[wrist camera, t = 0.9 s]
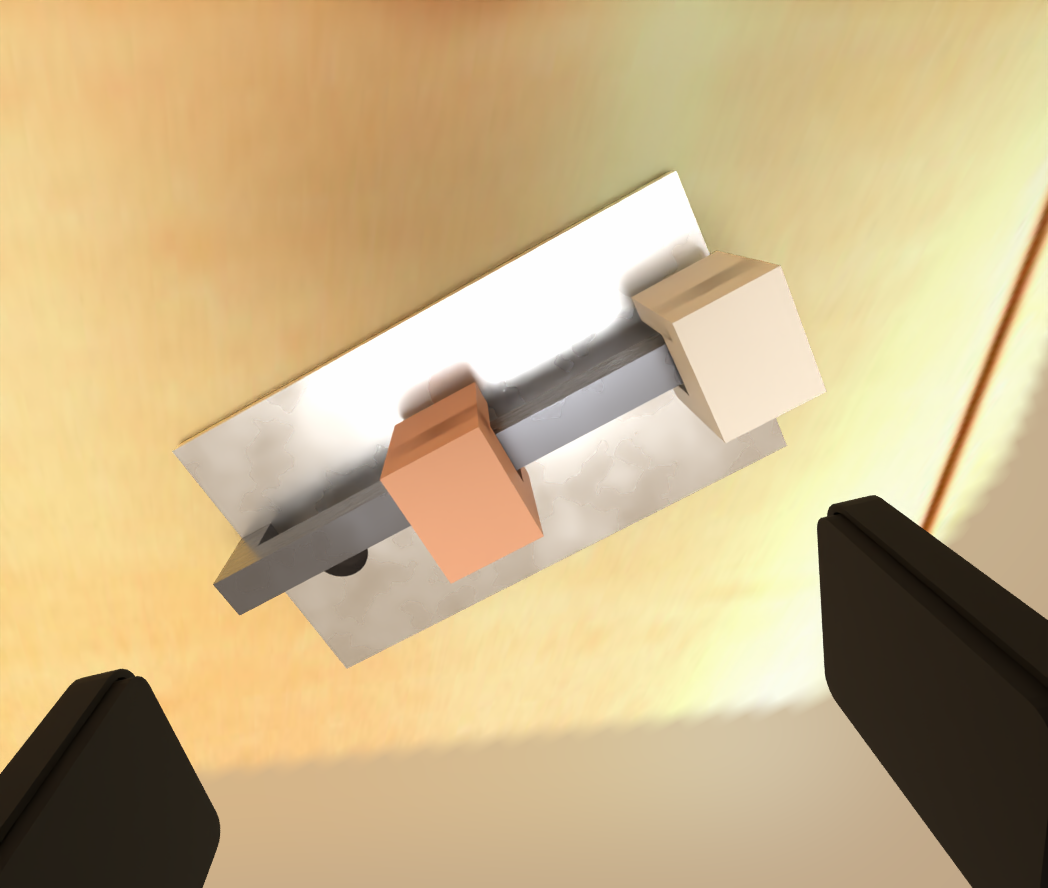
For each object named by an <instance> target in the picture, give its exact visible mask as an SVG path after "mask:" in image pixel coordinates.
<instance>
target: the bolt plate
mask: <svg viewBox="0 0 1048 888" xmlns="http://www.w3.org/2000/svg"><path fill="white" fill-rule="evenodd" d="M708 255H710V254H709V251H708V249H707V246H706V244H705V241H704V239H703V236H702V234H701V231H700V229H699V226H698V224H697V221H696V219H695V216H694V214H693V211H692V209H691V206H690V204H689V201H688V199H687V196H686V194H685V191H684V189H683V187H682V184H681V182H680V179H679V177H678V174H677V172H676V171H669V172H667V173H665V174H664V175H662V176H660V177H658V178H656V179H655V180H653V181H651V182H649V183H647V184H646V185H644V186H642V187H640V188H638V189H637V190H635V191H633V192H631V193H629V194H628V195H626V196H624V197H622V198H620V199H619V200H617V201H615V202H613V203H611V204H610V205H608V206H606V207H604V208H602V209H601V210H599V211H597V212H595V213H594V214H592V215H590V216H588V217H586V218H585V219H583V220H581V221H579V222H577V223H576V224H574V225H572V226H570V227H568V228H567V229H565V230H563V231H561V232H559V233H558V234H556V235H554V236H552V237H550V238H549V239H547V240H545V241H543V242H541V243H540V244H538V245H536V246H534V247H532V248H531V249H529V250H527V251H525V252H523V253H522V254H520V255H518V256H516V257H515V258H513V259H511V260H509V261H507V262H506V263H504V264H502V265H500V266H498V267H497V268H495V269H493V270H491V271H489V272H488V273H486V274H484V275H482V276H480V277H479V278H477V279H475V280H473V281H471V282H470V283H468V284H466V285H464V286H462V287H461V288H459V289H457V290H455V291H453V292H452V293H450V294H448V295H446V296H445V297H443V298H441V299H439V300H437V301H436V302H434V303H432V304H430V305H428V306H427V307H425V308H423V309H421V310H419V311H418V312H416V313H414V314H412V315H410V316H409V317H407V318H405V319H403V320H401V321H400V322H398V323H396V324H394V325H392V326H391V327H389V328H387V329H385V330H383V331H382V332H380V333H378V334H376V335H374V336H373V337H371V338H369V339H367V340H366V341H364V342H362V343H360V344H358V345H357V346H355V347H353V348H351V349H349V350H348V351H346V352H344V353H342V354H340V355H339V356H337V357H335V358H333V359H331V360H330V361H328V362H326V363H324V364H322V365H321V366H319V367H317V368H315V369H313V370H312V371H310V372H308V373H306V374H304V375H303V376H301V377H299V378H297V379H295V380H294V381H292V382H290V383H288V384H287V385H285V386H283V387H281V388H279V389H278V390H276V391H274V392H272V393H270V394H269V395H267V396H265V397H263V398H261V399H260V400H258V401H256V402H254V403H252V404H251V405H249V406H247V407H245V408H243V409H242V410H240V411H238V412H236V413H234V414H233V415H231V416H229V417H227V418H225V419H224V420H222V421H220V422H218V423H216V424H215V425H213V426H211V427H209V428H208V429H206V430H204V431H202V432H200V433H199V434H197V435H195V436H193V437H191V438H190V439H188V440H186V441H184V442H182V443H181V444H180V445H178V446H177V447H176V448H175V449H174V450H173V451H172V452H173V453H174V454H175V455H176V457H177V458H178V459H179V460H180V462H181V463H182V464H183V465H184V467H185V468H186V469H187V470H188V472H189V473H190V474H191V475H192V477H193V478H194V479H195V480H196V482H197V483H198V484H199V485H200V487H201V488H202V489H203V490H204V491H205V493H206V494H207V495H208V496H209V498H210V499H211V500H212V501H213V503H214V504H215V505H216V506H217V508H218V509H219V510H220V511H221V513H222V514H223V515H224V516H225V518H226V519H227V520H228V521H229V523H230V524H231V525H232V526H233V528H234V529H235V530H236V531H237V533H238V534H239V535H240V536H241V538H243V537H245V536H247V535H249V534H251V533H253V532H255V531H256V530H258V529H260V528H262V527H264V526H266V525H268V524H270V523H271V524H272V525H273V527H274V528H275V529H276V530H277V532H278V533H279V534H281V533H283V532H285V531H287V530H288V529H290V528H292V527H294V526H296V525H298V524H300V523H302V522H303V521H305V520H307V519H309V518H311V517H313V516H315V515H317V514H318V513H320V512H322V511H324V510H326V509H328V508H330V507H332V506H333V505H335V504H337V503H339V502H341V501H343V500H345V499H346V498H348V497H350V496H352V495H354V494H356V493H358V492H360V491H361V490H363V489H365V488H367V487H369V486H371V485H373V484H375V483H376V482H378V481H380V477H381V473H382V470H383V466H384V462H385V459H386V455H387V452H388V448H389V444H390V441H391V437H392V433H393V430H394V426H395V425H396V424H398V423H400V422H402V421H403V420H405V419H407V418H409V417H411V416H413V415H414V414H416V413H418V412H420V411H422V410H424V409H426V408H427V407H429V406H431V405H433V404H435V403H437V402H438V401H440V400H442V399H444V398H446V397H448V396H450V395H451V394H453V393H455V392H457V391H459V390H461V389H463V388H464V387H466V386H468V385H470V384H472V383H474V382H475V383H476V384H477V386H478V388H479V389H480V391H481V393H482V395H483V396H484V398H485V400H486V402H487V404H488V412H489V419H490V422H491V421H493V420H495V419H496V418H498V417H500V416H502V415H504V414H506V413H508V412H510V411H511V410H513V409H515V408H517V407H519V406H521V405H523V404H525V403H526V402H528V401H530V400H532V399H534V398H536V397H538V396H540V395H541V394H543V393H545V392H547V391H549V390H551V389H553V388H555V387H556V386H558V385H560V384H562V383H564V382H566V381H568V380H570V379H571V378H573V377H575V376H577V375H579V374H581V373H583V372H585V371H586V370H588V369H590V368H592V367H594V366H596V365H598V364H600V363H601V362H603V361H605V360H607V359H609V358H611V357H613V356H615V355H616V354H618V353H620V352H622V351H624V350H626V349H628V348H630V347H631V346H633V345H635V344H637V343H639V342H641V341H643V340H645V339H646V338H648V337H650V336H652V335H654V334H656V333H658V332H657V331H656V330H654V329H653V328H652V327H650V326H649V325H647V324H646V323H645V322H643V321H642V320H641V318H640V316H639V314H638V312H637V309H636V307H635V305H634V303H633V301H632V298H631V297H633V296H634V295H636V294H638V293H640V292H642V291H644V290H645V289H647V288H649V287H651V286H653V285H655V284H657V283H658V282H660V281H662V280H664V279H666V278H668V277H670V276H671V275H673V274H675V273H677V272H679V271H681V270H682V269H684V268H686V267H688V266H690V265H692V264H694V263H695V262H697V261H699V260H701V259H703V258H705V257H706V256H708ZM785 446H787V445H786V442H785V440H784V437H783V435H782V432H781V430H780V427H779V425H778V422H777V420H776V418H774V419H772V420H770V421H768V422H766V423H764V424H763V425H761V426H759V427H757V428H755V429H753V430H751V431H749V432H747V433H745V434H743V435H741V436H739V437H737V438H735V439H733V440H731V441H729V442H727V443H725V442H724V441H722V440H721V439H720V438H719V437H718V436H717V435H716V434H715V433H714V432H713V431H712V430H711V429H710V428H709V427H708V426H707V425H706V424H705V423H704V422H703V421H701V420H700V419H699V418H698V417H697V416H696V415H695V414H694V413H693V412H692V411H691V410H690V409H689V408H688V407H687V406H686V405H685V404H684V403H683V402H682V401H681V400H679V399H678V398H677V396H676V394H675V392H674V390H673V389H671V390H669V391H667V392H665V393H663V394H662V395H660V396H658V397H656V398H654V399H652V400H650V401H648V402H646V403H644V404H642V405H641V406H639V407H637V408H635V409H633V410H631V411H629V412H627V413H625V414H623V415H621V416H620V417H618V418H616V419H614V420H612V421H610V422H608V423H606V424H604V425H602V426H600V427H599V428H597V429H595V430H593V431H591V432H589V433H587V434H585V435H583V436H581V437H579V438H578V439H576V440H574V441H572V442H570V443H568V444H566V445H564V446H562V447H560V448H558V449H557V450H555V451H553V452H551V453H549V454H547V455H545V456H543V457H541V458H539V459H537V460H536V461H534V462H532V463H530V464H528V465H526V466H524V467H525V469H526V470H527V472H528V474H529V478H530V482H531V486H532V490H533V494H534V498H535V502H536V506H537V510H538V515H539V519H540V523H541V527H542V531H543V535H544V537H542V538H540V539H538V540H536V541H534V542H532V543H530V544H528V545H526V546H524V547H522V548H520V549H518V550H516V551H514V552H512V553H510V554H508V555H506V556H504V557H502V558H501V559H499V560H497V561H495V562H493V563H491V564H489V565H487V566H485V567H483V568H481V569H479V570H477V571H475V572H473V573H471V574H469V575H467V576H465V577H463V578H461V579H459V580H458V581H456V582H454V583H452V584H451V583H450V582H449V580H448V579H447V578H446V576H445V575H444V573H443V572H442V570H441V569H440V567H439V566H438V564H437V563H436V561H435V560H434V558H433V557H432V555H431V554H430V553H429V551H428V550H427V548H426V547H425V545H424V544H423V542H422V541H421V539H420V538H419V536H418V535H417V533H416V532H415V531H414V529H413V528H412V526H410V527H408V528H406V529H404V530H402V531H400V532H398V533H396V534H394V535H392V536H390V537H389V538H387V539H385V540H383V541H381V542H379V543H377V544H375V545H373V546H371V547H369V548H368V549H366V550H364V551H362V552H360V553H358V554H356V555H354V556H352V557H350V558H348V559H347V560H345V561H343V562H341V563H339V564H337V565H335V566H333V567H331V568H329V569H327V570H326V571H324V572H322V573H320V574H318V575H316V576H314V577H312V578H310V579H308V580H306V581H305V582H303V583H301V584H299V585H297V586H295V587H293V588H291V589H289V590H287V591H285V592H286V594H287V595H288V596H289V597H290V599H291V600H292V601H293V602H294V604H295V605H296V606H297V607H298V608H299V610H300V611H301V612H302V613H303V615H304V616H305V617H306V618H307V620H308V621H309V622H310V623H311V625H312V626H313V627H314V628H315V630H316V631H317V632H318V633H319V635H320V636H321V637H322V638H323V640H324V641H325V642H326V643H327V645H328V646H329V647H330V648H331V650H332V651H333V652H334V653H335V655H336V656H337V657H338V658H339V660H340V661H341V662H342V663H343V664H344V666H345V667H346V668H349V667H351V666H353V665H355V664H357V663H359V662H361V661H363V660H365V659H367V658H369V657H371V656H373V655H375V654H377V653H379V652H381V651H383V650H385V649H387V648H388V647H390V646H392V645H394V644H396V643H398V642H400V641H402V640H404V639H406V638H408V637H410V636H412V635H414V634H416V633H418V632H420V631H422V630H424V629H426V628H428V627H430V626H432V625H434V624H436V623H438V622H440V621H442V620H444V619H446V618H448V617H450V616H452V615H454V614H456V613H458V612H460V611H462V610H464V609H466V608H467V607H469V606H471V605H473V604H475V603H477V602H479V601H481V600H483V599H485V598H487V597H489V596H491V595H493V594H495V593H497V592H499V591H501V590H503V589H505V588H507V587H509V586H511V585H513V584H515V583H517V582H519V581H521V580H523V579H525V578H527V577H529V576H531V575H533V574H535V573H537V572H539V571H541V570H543V569H544V568H546V567H548V566H550V565H552V564H554V563H556V562H558V561H560V560H562V559H564V558H566V557H568V556H570V555H572V554H574V553H576V552H578V551H580V550H582V549H584V548H586V547H588V546H590V545H592V544H594V543H596V542H598V541H600V540H602V539H604V538H606V537H608V536H610V535H612V534H614V533H616V532H618V531H620V530H622V529H623V528H625V527H627V526H629V525H631V524H633V523H635V522H637V521H639V520H641V519H643V518H645V517H647V516H649V515H651V514H653V513H655V512H657V511H659V510H661V509H663V508H665V507H667V506H669V505H671V504H673V503H675V502H677V501H679V500H681V499H683V498H685V497H687V496H689V495H691V494H693V493H695V492H697V491H699V490H700V489H702V488H704V487H706V486H708V485H710V484H712V483H714V482H716V481H718V480H720V479H722V478H724V477H726V476H728V475H730V474H732V473H734V472H736V471H738V470H740V469H742V468H744V467H746V466H748V465H750V464H752V463H754V462H756V461H758V460H760V459H762V458H764V457H766V456H768V455H770V454H772V453H774V452H776V451H778V450H779V449H781V448H783V447H785Z"/></svg>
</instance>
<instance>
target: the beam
mask: <svg viewBox="0 0 1048 888" xmlns="http://www.w3.org/2000/svg"><path fill="white" fill-rule="evenodd" d="M681 384H683V380H682V378H681V376H680V374H679V372H678V369H677V367H676V365H675V363H674V360H673V358H672V356H671V354H670V352H669V349H668V347H667V345H666V343H665V341H664V338H663V336H662V335H661V334H660V333H659V332H658V333H656V334H654V335H652V336H650V337H648V338H646V339H645V340H643V341H641V342H639V343H637V344H635V345H633V346H631V347H630V348H628V349H626V350H624V351H622V352H620V353H618V354H616V355H615V356H613V357H611V358H609V359H607V360H605V361H603V362H601V363H600V364H598V365H596V366H594V367H592V368H590V369H588V370H586V371H585V372H583V373H581V374H579V375H577V376H575V377H573V378H571V379H570V380H568V381H566V382H564V383H562V384H560V385H558V386H556V387H555V388H553V389H551V390H549V391H547V392H545V393H543V394H541V395H540V396H538V397H536V398H534V399H532V400H530V401H528V402H526V403H525V404H523V405H521V406H519V407H517V408H515V409H513V410H511V411H510V412H508V413H506V414H504V415H502V416H500V417H498V418H496V419H495V420H493V421H491V422H490V427H491V428H492V430H493V432H494V433H495V435H496V437H497V438H498V440H499V442H500V444H501V445H502V447H503V449H504V450H505V452H506V454H507V455H508V457H509V459H510V461H511V462H512V464H513V466H514V467H515V469H516V470H518V469H520V468H522V467H524V466H526V465H528V464H530V463H532V462H534V461H536V460H537V459H539V458H541V457H543V456H545V455H547V454H549V453H551V452H553V451H555V450H557V449H558V448H560V447H562V446H564V445H566V444H568V443H570V442H572V441H574V440H576V439H578V438H579V437H581V436H583V435H585V434H587V433H589V432H591V431H593V430H595V429H597V428H599V427H600V426H602V425H604V424H606V423H608V422H610V421H612V420H614V419H616V418H618V417H620V416H621V415H623V414H625V413H627V412H629V411H631V410H633V409H635V408H637V407H639V406H641V405H642V404H644V403H646V402H648V401H650V400H652V399H654V398H656V397H658V396H660V395H662V394H663V393H665V392H667V391H669V390H671V389H673V388H675V387H677V386H679V385H681ZM410 526H411V525H410V523H409V522H408V520H407V519H406V517H405V516H404V514H403V513H402V511H401V510H400V509H399V507H398V506H397V504H396V503H395V501H394V500H393V498H392V497H391V495H390V494H389V492H388V491H387V489H386V488H385V486H384V485H383V484H382V482H381V481H378V482H376V483H375V484H373V485H371V486H369V487H367V488H365V489H363V490H361V491H360V492H358V493H356V494H354V495H352V496H350V497H348V498H346V499H345V500H343V501H341V502H339V503H337V504H335V505H333V506H332V507H330V508H328V509H326V510H324V511H322V512H320V513H318V514H317V515H315V516H313V517H311V518H309V519H307V520H305V521H303V522H302V523H300V524H298V525H296V526H294V527H292V528H290V529H288V530H287V531H285V532H283V533H281V534H279V533H278V532H277V530H276V529H275V528H274V527H273V525H272V524H271V523H270V524H268V525H266V526H264V527H262V528H260V529H258V530H256V531H255V532H253V533H251V534H249V535H247V536H245V537H243V538H242V539H241V541H240V542H239V544H238V546H237V547H236V549H235V550H234V552H233V554H232V555H231V557H230V558H229V560H228V562H227V563H226V565H225V566H224V568H223V570H222V571H221V573H220V574H219V576H218V578H217V579H216V581H215V582H214V584H213V585H214V586H215V587H216V588H217V590H218V591H219V592H220V593H221V594H222V595H223V597H224V598H225V599H226V600H227V601H228V602H229V604H230V605H231V606H232V607H233V608H234V610H235V611H236V612H237V613H238V614H239V615H242V614H243V613H245V612H247V611H249V610H251V609H253V608H255V607H257V606H259V605H261V604H263V603H264V602H266V601H268V600H270V599H272V598H274V597H276V596H278V595H280V594H282V593H284V592H285V591H287V590H289V589H291V588H293V587H295V586H297V585H299V584H301V583H303V582H305V581H306V580H308V579H310V578H312V577H314V576H316V575H318V574H320V573H322V572H324V571H326V570H327V569H329V568H331V567H333V566H335V565H337V564H339V563H341V562H343V561H345V560H347V559H348V558H350V557H352V556H354V555H356V554H358V553H360V552H362V551H364V550H366V549H368V548H369V547H371V546H373V545H375V544H377V543H379V542H381V541H383V540H385V539H387V538H389V537H390V536H392V535H394V534H396V533H398V532H400V531H402V530H404V529H406V528H408V527H410Z"/></svg>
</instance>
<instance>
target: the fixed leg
mask: <svg viewBox="0 0 1048 888" xmlns="http://www.w3.org/2000/svg"><path fill="white" fill-rule="evenodd" d="M631 298H632V301H633V303H634V305H635V307H636V309H637V312H638V314H639V316H640V318H641V320H642V321H643V322H645V323H646V324H647V325H649V326H650V327H652V328H653V329H654V330H656V331H657V332H659V333H660V334H661V335H662V336H663V338H664V341H665V343H666V345H667V347H668V349H669V352H670V354H671V356H672V358H673V360H674V363H675V365H676V367H677V369H678V372H679V374H680V376H681V378H682V380H683V384H681V385H679V386H677V387H675V388H673V390H674V392H675V394H676V396H677V398H678V399H679V400H681V401H682V402H683V403H684V404H685V405H686V406H687V407H688V408H689V409H690V410H691V411H692V412H693V413H694V414H695V415H696V416H697V417H698V418H699V419H700V420H701V421H703V422H704V423H705V424H706V425H707V426H708V427H709V428H710V429H711V430H712V431H713V432H714V433H715V434H716V435H717V436H718V437H719V438H720V439H721V440H722V441H724V442H725V443H727V442H729V441H731V440H733V439H735V438H737V437H739V436H741V435H743V434H745V433H747V432H749V431H751V430H753V429H755V428H757V427H759V426H761V425H763V424H764V423H766V422H768V421H770V420H772V419H774V418H776V417H778V416H780V415H782V414H784V413H786V412H788V411H790V410H792V409H794V408H796V407H798V406H800V405H802V404H804V403H806V402H807V401H809V400H811V399H813V398H815V397H817V396H819V395H821V394H823V393H825V392H827V391H826V388H825V386H824V383H823V380H822V377H821V375H820V372H819V369H818V366H817V364H816V361H815V358H814V355H813V353H812V350H811V347H810V345H809V342H808V339H807V336H806V334H805V331H804V328H803V325H802V323H801V320H800V317H799V314H798V312H797V309H796V306H795V303H794V301H793V298H792V295H791V292H790V290H789V287H788V284H787V281H786V279H785V276H784V273H783V270H782V268H781V266H780V265H776V264H772V263H768V262H763V261H759V260H755V259H751V258H746V257H742V256H738V255H734V254H730V253H725V252H721V251H716V252H714V253H712V254H710V255H708V256H706V257H705V258H703V259H701V260H699V261H697V262H695V263H694V264H692V265H690V266H688V267H686V268H684V269H682V270H681V271H679V272H677V273H675V274H673V275H671V276H670V277H668V278H666V279H664V280H662V281H660V282H658V283H657V284H655V285H653V286H651V287H649V288H647V289H645V290H644V291H642V292H640V293H638V294H636V295H634V296H633V297H631Z"/></svg>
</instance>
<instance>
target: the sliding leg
mask: <svg viewBox="0 0 1048 888" xmlns="http://www.w3.org/2000/svg"><path fill="white" fill-rule="evenodd" d="M380 481H381V482H382V484H383V485H384V486H385V488H386V489H387V491H388V492H389V494H390V495H391V497H392V498H393V500H394V501H395V503H396V504H397V506H398V507H399V509H400V510H401V511H402V513H403V514H404V516H405V517H406V519H407V520H408V522H409V523H410V525H411V526H412V528H413V529H414V531H415V532H416V533H417V535H418V536H419V538H420V539H421V541H422V542H423V544H424V545H425V547H426V548H427V550H428V551H429V553H430V554H431V555H432V557H433V558H434V560H435V561H436V563H437V564H438V566H439V567H440V569H441V570H442V572H443V573H444V575H445V576H446V578H447V579H448V580H449V582H450V583H451V584H452V583H454V582H456V581H458V580H459V579H461V578H463V577H465V576H467V575H469V574H471V573H473V572H475V571H477V570H479V569H481V568H483V567H485V566H487V565H489V564H491V563H493V562H495V561H497V560H499V559H501V558H502V557H504V556H506V555H508V554H510V553H512V552H514V551H516V550H518V549H520V548H522V547H524V546H526V545H528V544H530V543H532V542H534V541H536V540H538V539H540V538H542V537H544V535H543V531H542V527H541V523H540V519H539V515H538V510H537V506H536V502H535V498H534V494H533V490H532V486H531V482H530V478H529V474H528V472H527V470H526V469H525V467H522V468H520V469H518V470H516V469H515V467H514V466H513V464H512V462H511V461H510V459H509V457H508V455H507V454H506V452H505V450H504V449H503V447H502V445H501V444H500V442H499V440H498V438H497V437H496V435H495V433H494V432H493V430H492V428H491V427H490V419H489V412H488V404H487V402H486V400H485V398H484V396H483V395H482V393H481V391H480V389H479V388H478V386H477V384H476V383H475V382H474V383H472V384H470V385H468V386H466V387H464V388H463V389H461V390H459V391H457V392H455V393H453V394H451V395H450V396H448V397H446V398H444V399H442V400H440V401H438V402H437V403H435V404H433V405H431V406H429V407H427V408H426V409H424V410H422V411H420V412H418V413H416V414H414V415H413V416H411V417H409V418H407V419H405V420H403V421H402V422H400V423H398V424H396V425H395V426H394V430H393V433H392V437H391V441H390V444H389V448H388V452H387V455H386V459H385V462H384V466H383V470H382V473H381V477H380Z"/></svg>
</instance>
